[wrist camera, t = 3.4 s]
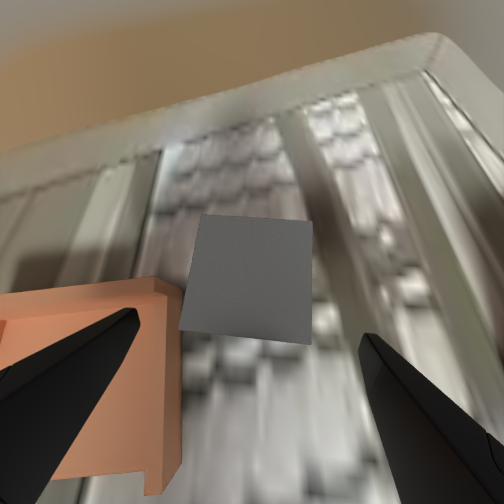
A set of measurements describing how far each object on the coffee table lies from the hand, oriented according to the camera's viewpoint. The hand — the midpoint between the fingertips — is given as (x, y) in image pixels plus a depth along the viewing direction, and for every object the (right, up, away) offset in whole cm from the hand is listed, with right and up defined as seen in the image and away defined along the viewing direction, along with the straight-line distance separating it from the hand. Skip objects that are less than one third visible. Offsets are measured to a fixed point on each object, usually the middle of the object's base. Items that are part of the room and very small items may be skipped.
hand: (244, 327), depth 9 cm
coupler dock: (-13, -7, +9) cm, 17 cm away
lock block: (+1, -1, +10) cm, 10 cm away
